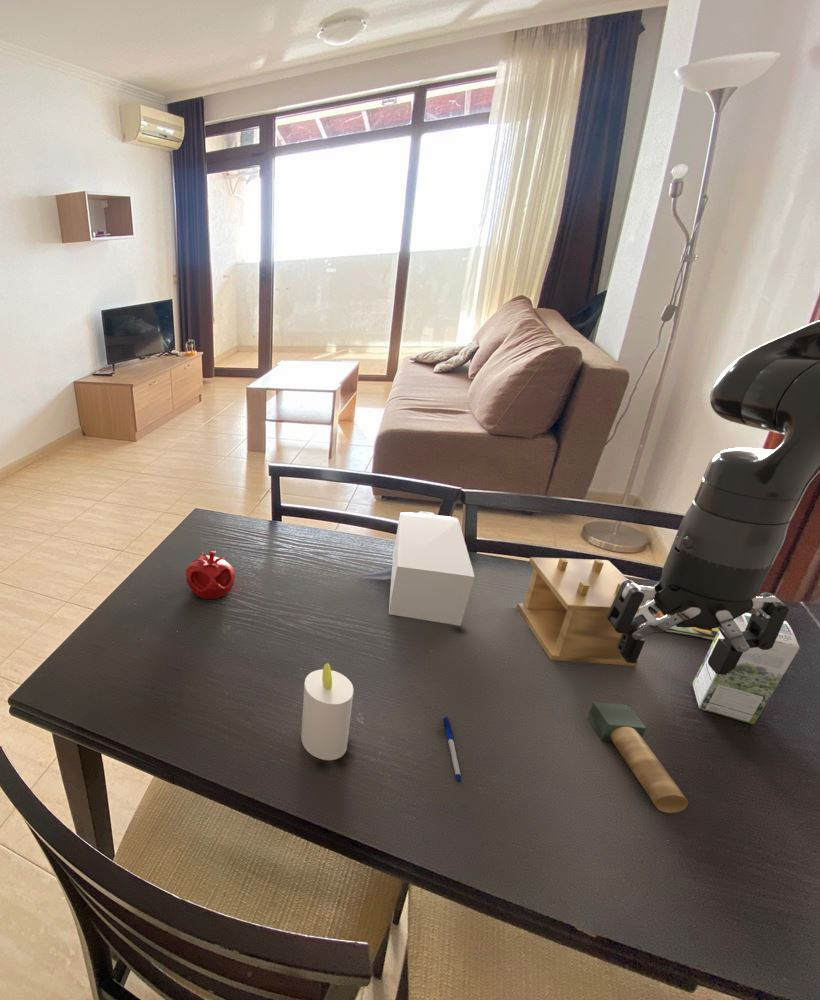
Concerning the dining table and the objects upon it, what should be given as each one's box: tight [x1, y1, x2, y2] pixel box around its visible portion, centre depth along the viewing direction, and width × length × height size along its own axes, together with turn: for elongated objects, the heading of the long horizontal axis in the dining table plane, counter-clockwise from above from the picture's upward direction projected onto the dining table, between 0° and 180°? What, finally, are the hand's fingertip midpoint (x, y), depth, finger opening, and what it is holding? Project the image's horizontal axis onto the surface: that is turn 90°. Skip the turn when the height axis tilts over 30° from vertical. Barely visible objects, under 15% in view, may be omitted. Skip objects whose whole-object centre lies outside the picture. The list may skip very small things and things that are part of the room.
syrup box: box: [691, 612, 800, 725], centre depth 74 cm, size 6×6×14 cm
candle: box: [300, 663, 354, 761], centre depth 74 cm, size 6×6×15 cm
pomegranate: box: [185, 550, 236, 600], centre depth 110 cm, size 10×10×9 cm
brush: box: [586, 701, 689, 814], centre depth 70 cm, size 14×4×3 cm, turn 168°
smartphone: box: [656, 610, 719, 641], centre depth 93 cm, size 7×1×15 cm
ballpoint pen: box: [443, 716, 462, 783], centre depth 74 cm, size 10×1×1 cm, turn 164°
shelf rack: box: [516, 556, 658, 667], centre depth 90 cm, size 12×14×13 cm
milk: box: [388, 510, 476, 627], centre depth 105 cm, size 12×12×26 cm
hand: (670, 664), depth 64 cm, fingers open, 8 cm apart
